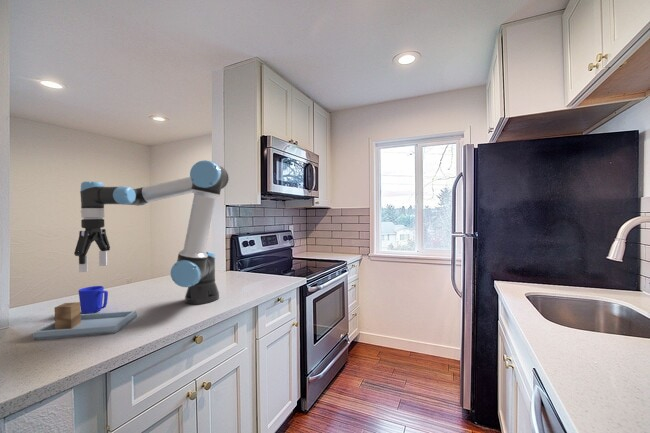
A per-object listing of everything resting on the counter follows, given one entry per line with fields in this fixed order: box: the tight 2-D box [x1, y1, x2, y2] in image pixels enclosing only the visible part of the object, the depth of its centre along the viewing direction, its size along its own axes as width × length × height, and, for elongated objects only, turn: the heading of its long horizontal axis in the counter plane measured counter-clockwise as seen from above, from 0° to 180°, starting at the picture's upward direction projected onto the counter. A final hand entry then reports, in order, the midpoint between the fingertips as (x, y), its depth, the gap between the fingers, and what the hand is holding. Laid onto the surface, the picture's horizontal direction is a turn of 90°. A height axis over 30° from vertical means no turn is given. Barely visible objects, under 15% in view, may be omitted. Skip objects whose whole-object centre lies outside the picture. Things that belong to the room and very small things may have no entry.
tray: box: [32, 310, 138, 341], centre depth 102 cm, size 24×16×2 cm, turn 101°
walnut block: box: [54, 301, 82, 330], centre depth 101 cm, size 5×5×8 cm
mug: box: [78, 285, 109, 314], centre depth 119 cm, size 8×12×10 cm
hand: (94, 268), depth 118 cm, fingers open, 13 cm apart
